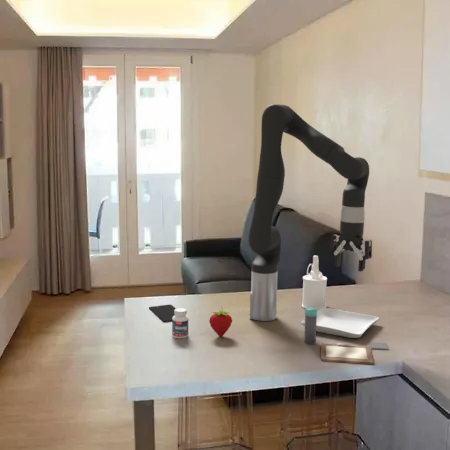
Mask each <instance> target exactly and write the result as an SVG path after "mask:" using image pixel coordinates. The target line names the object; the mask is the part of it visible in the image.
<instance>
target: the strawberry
mask: <svg viewBox="0 0 450 450" xmlns="http://www.w3.org/2000/svg"><path fill="white" fill-rule="evenodd" d="M220 308H221V310H220V309H219V311H217V312H213V314H212V315H211V316H210V317H209V321H208V322H209V324H210V328H211V329H212V330H213V331H214V332H215V333H216V335H218V337H223V336H224V335H225V334H226V333H227V332H228V330H229V329H230V327H231V325H232V322H233V319H232V316H231V315H230V314H229V313H228V312H227V311H224V310H223V307H222V306H220Z"/></svg>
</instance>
